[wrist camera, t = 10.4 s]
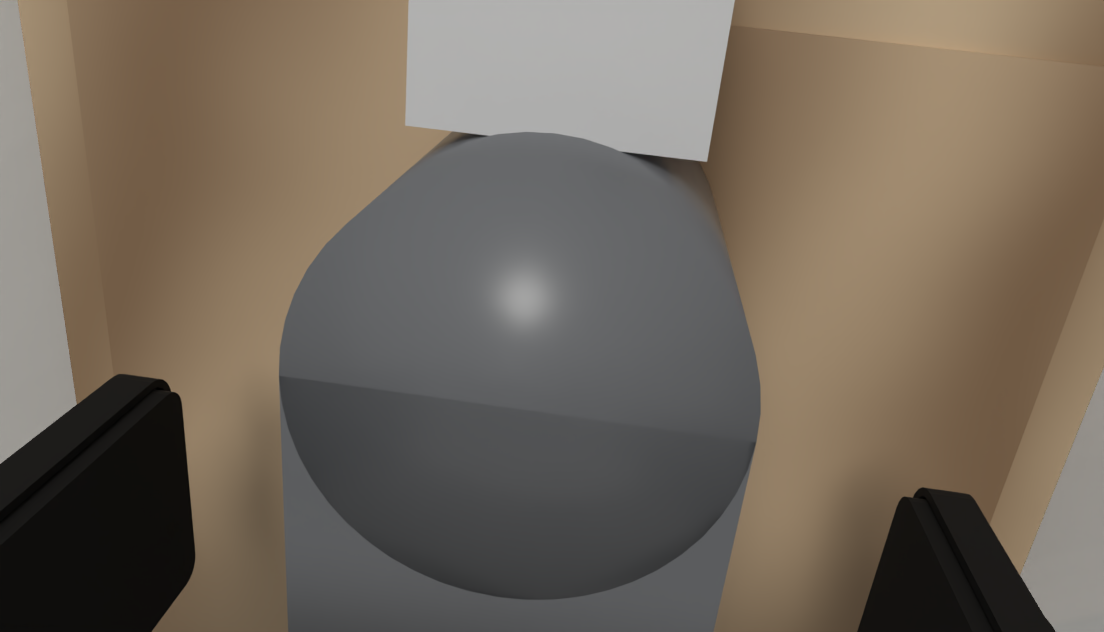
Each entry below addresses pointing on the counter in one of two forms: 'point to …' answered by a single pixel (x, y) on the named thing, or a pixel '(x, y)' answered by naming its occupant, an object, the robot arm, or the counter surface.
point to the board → (747, 223)
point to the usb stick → (527, 341)
